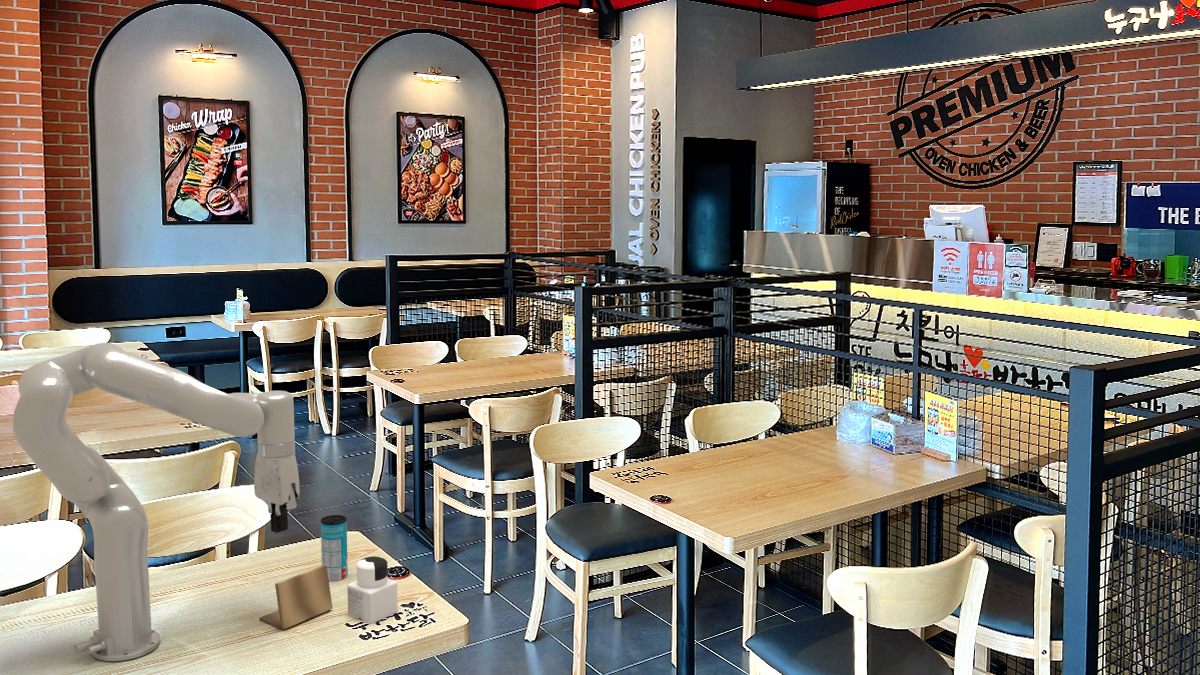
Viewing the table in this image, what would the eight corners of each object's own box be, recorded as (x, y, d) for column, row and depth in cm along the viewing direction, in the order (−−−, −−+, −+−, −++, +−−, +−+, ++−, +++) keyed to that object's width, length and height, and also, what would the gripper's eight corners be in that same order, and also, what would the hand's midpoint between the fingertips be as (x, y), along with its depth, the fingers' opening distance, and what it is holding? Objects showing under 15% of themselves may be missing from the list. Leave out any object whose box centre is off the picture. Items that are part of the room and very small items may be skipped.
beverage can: (352, 579, 231) (351, 519, 229) (331, 586, 226) (330, 525, 224) (338, 572, 235) (337, 513, 232) (317, 579, 230) (315, 519, 228)
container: (374, 605, 217) (373, 550, 215) (398, 615, 212) (397, 558, 210) (347, 617, 211) (346, 561, 209) (371, 627, 206) (370, 569, 204)
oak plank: (278, 584, 201) (274, 583, 202) (284, 629, 202) (281, 628, 202) (326, 565, 211) (323, 565, 212) (332, 608, 212) (329, 607, 213)
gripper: (240, 446, 208) (243, 528, 211) (284, 458, 199) (287, 543, 202) (269, 439, 214) (272, 518, 217) (313, 451, 205) (316, 533, 208)
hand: (279, 530), depth 210 cm, fingers closed
